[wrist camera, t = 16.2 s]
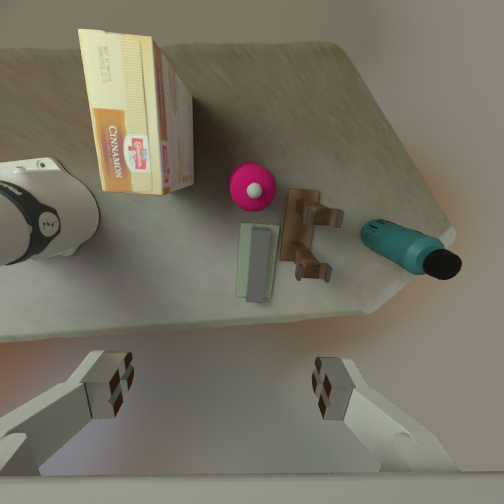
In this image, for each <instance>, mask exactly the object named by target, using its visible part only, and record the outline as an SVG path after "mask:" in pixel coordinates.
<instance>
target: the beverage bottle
mask: <svg viewBox="0 0 504 504" xmlns="http://www.w3.org/2000/svg"><path fill="white" fill-rule="evenodd" d="M361 240H362V242H363V243H364V245H365V246H367V247H369V248H370V249H371V250H374V251H375V253H379V254H381V255H382V256H384V257H386V258H388V259H389V260H391V261H393V262H394V263H396V264H398V265H399V266H401V267H403V268H404V269H406V270H407V271H408V272H410V273H412V274H415V275H424V274H428V275H430V276H432V277H435V278H437V279H441V280H447V279H450V278H452V277H454V276H455V275H456V274H457V273H458V272H459V271H460V269H461V266H462V261H461V259H460V258H459V257H458V256H457V255H455V254H454V253H452V252H450V251H448V250H446V249H444V246H443V244H442V242H441V241H440V240H438V239H437V238H434V237H430V236H427V235H424V234H422V233H419V232H418V231H413V230H410V229H407V228H404V227H402V226H400V225H397V224H395V223H393V222H392V223H391V222H389V221H387V220H386V221H384V219H383V220H381V219H376V220H372V221H370V222H368V223H367V224H366V225H365V226H364V227H363V229H362V231H361Z"/></svg>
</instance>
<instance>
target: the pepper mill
mask: <svg viewBox="0 0 504 504" xmlns="http://www.w3.org/2000/svg"><path fill="white" fill-rule="evenodd" d="M229 187H230V192H231V196H232V199H233V201H234V202H235V203H236V204H237V205H238V206H239V207H240V208H242V209H243V210H246V211H250V212H256V211H260V210H263V209H265V208H266V207H267V206H268V205H269V204H270V203H271V202H272V200H273V199H274V196H275V192H276V183H275V180H274V177H273V176H272V174H271V173H270V172H269V170H267V169H266V168H265V167H263V166H261V165H259V164H257V163H255V162H244V163H241V164H239V165H238V166H236V167H235V168H234V170H233V171H232V173H231V175H230V178H229Z"/></svg>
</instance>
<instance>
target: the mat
mask: <svg viewBox="0 0 504 504" xmlns="http://www.w3.org/2000/svg"><path fill="white" fill-rule="evenodd" d="M252 226H256V227H269V229H270V240H269V249H268V258H267V267H266V276H265V285H264V294H263V298H271V291H272V283H273V275H274V267H275V259H276V251H277V243H278V235H279V227H280V226H279V225H274V224H260V223H246V222H241V225H240V240H239V255H238V270H237V285H236V296H237V297H246V289H247V277H248V265H249V253H250V241H251V228H252Z"/></svg>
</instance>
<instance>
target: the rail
mask: <svg viewBox="0 0 504 504" xmlns="http://www.w3.org/2000/svg"><path fill="white" fill-rule="evenodd" d="M269 240H270V229H269V227H256V226H252V228H251V241H250V253H249V265H248V277H247V289H246V302H255V303H263V294H264V285H265V276H266V267H267V258H268V249H269Z"/></svg>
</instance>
